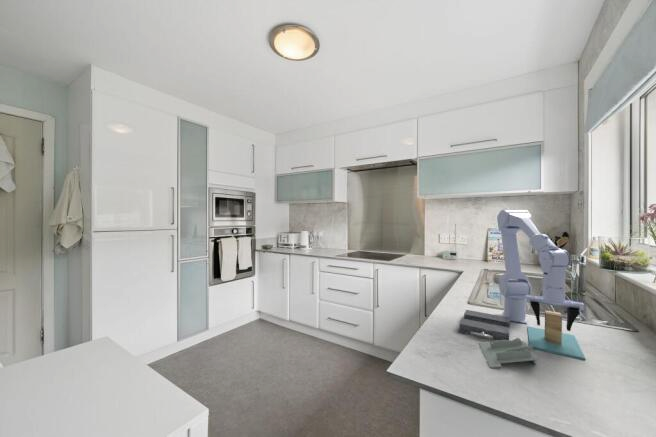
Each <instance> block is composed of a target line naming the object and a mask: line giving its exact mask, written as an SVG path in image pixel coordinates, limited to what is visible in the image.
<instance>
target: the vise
mask: <svg viewBox="0 0 656 437" xmlns="http://www.w3.org/2000/svg"><path fill="white" fill-rule="evenodd" d="M458 325H459V327H458V334H464V335H465V334H470V335H473V336H475V337H476V336H477V337H482V338H485V339H490V340H495V341H497V340H510V332H511V331H510V330H511V329H510V327H511V326H510V325H511V321H510V318H509V317H504V316H503V315H497V314H491V313H486V312H481V311H475V310H470V309H469V310H468V309H465V311H464V313H463V318H461V319H460V321H459V323H458Z"/></svg>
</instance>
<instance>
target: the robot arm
mask: <svg viewBox="0 0 656 437" xmlns="http://www.w3.org/2000/svg"><path fill="white" fill-rule="evenodd" d="M496 219H497V221H496V222H497V227H498V231H499V232H500V235H501V244H502V249H503V250H502V251H503V260H504V267H505V273H503V274H502V275H500V276H499V284H498V289H499V292H500V293H501V295H502V296H504V298H503V312H502V316H504V317H509V318H510V322H516V323H521V324H528V318H527V314H526V311H527V309H526V308H527V307H526V306H527V304H526V303H530V306H531V308H532V311H533V314H534V315H535V319H536V325H537V326H541V315H540V313H541V306H540V304H541V305H547V306H548V305H549V306H555V307H560V308H561V307H563V308H566V316H567V318H566V330H567V331H568V332H571V331H572V327H573V324H574V322H575V320H576V319H577V318H578V316H579V315H580V311H584V310H585V304H584V303H583V302H579V301H575V300H574V301H573V300H568V299H566V275H567V274H566V272H567V271H566V270H567V269H566V268H569V267H570V265H571V263H572V258H571V255H570V253H569V252H568V251H567V250H566V249H562V248H561V247H558V246H557V245H556V244H555V243H554V241H552V240H551V238H550V237H549V236H548V234H545V233H541V232H540V231H539V230H538V229H537V227H536V225H535V224H534V223H533V221H532V214H531V213H530V212H529V210H527V209H515V210H514V209H512V210H511V209H507V210H506V209H501V210H500V211H499V213H498V214H497V218H496ZM520 231H522V232H523V233H524V234H525V235H526V236H527V238H529V241H528V242H529V245H530V246H531V247H532V248H533V250H534V251H535V252H536V254H537V255H538V262H539V264H540V269H541V272H542V295H541V296H540V295H531V294H532V290H533V289H532V285H531V282H530V280H529V279H530V278H529V277H528V276H527V275H525V274H524V273H523V272H522V268H521V259H520V253H519V246H518V238H517V234H518V232H520Z"/></svg>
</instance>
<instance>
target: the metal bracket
mask: <svg viewBox="0 0 656 437" xmlns="http://www.w3.org/2000/svg"><path fill="white" fill-rule="evenodd" d="M478 346H479V348H480V349H481V352H482V354H483V355H484V358H485V360H486V365H487V367H488V368H489V369H497V368H502V367H503V366H502V364H508V363H509V364H510V363H519V362H529V361H531V362H532V363H533V365H534V366H536V361H538V357H537V355H535V354H534V348H533V347H532V346H530V345H527V344H526V342H525V341H524V340H521V338H519V337H516V338H514V339H513V340H510V339H509V340H491V341H482V342H478Z"/></svg>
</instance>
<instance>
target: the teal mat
mask: <svg viewBox="0 0 656 437" xmlns="http://www.w3.org/2000/svg"><path fill="white" fill-rule="evenodd" d="M527 335H528V342H529V343H528V344H529V345H528V346H532V347H533V350H539V351H544V352H547V353H551V354H557V355H560V356H564V357H570V358H575V359H578V360H581V361H582V360H584V361H586V357H585V355H584V352H583V350H582V348H581V347H580V345H579V343H578V340H577V339H576V338H577V337H576V336H575V335H574V334H571V333H565V332H562V344H557V343H552V342H548V341H546V340H545V328H544V329H543V328H538V327H532V326H527Z"/></svg>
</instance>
